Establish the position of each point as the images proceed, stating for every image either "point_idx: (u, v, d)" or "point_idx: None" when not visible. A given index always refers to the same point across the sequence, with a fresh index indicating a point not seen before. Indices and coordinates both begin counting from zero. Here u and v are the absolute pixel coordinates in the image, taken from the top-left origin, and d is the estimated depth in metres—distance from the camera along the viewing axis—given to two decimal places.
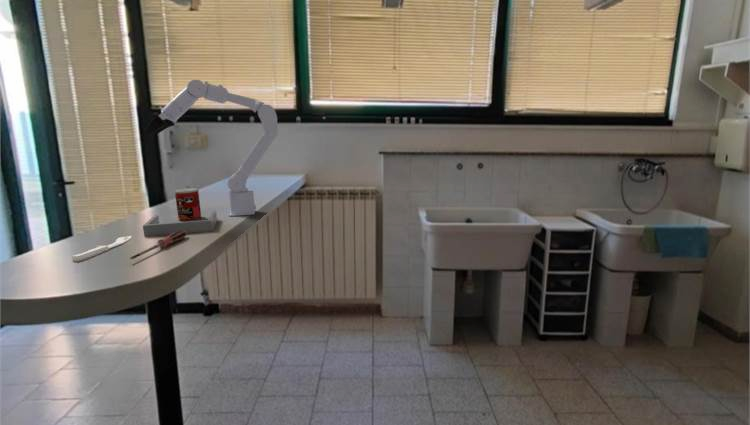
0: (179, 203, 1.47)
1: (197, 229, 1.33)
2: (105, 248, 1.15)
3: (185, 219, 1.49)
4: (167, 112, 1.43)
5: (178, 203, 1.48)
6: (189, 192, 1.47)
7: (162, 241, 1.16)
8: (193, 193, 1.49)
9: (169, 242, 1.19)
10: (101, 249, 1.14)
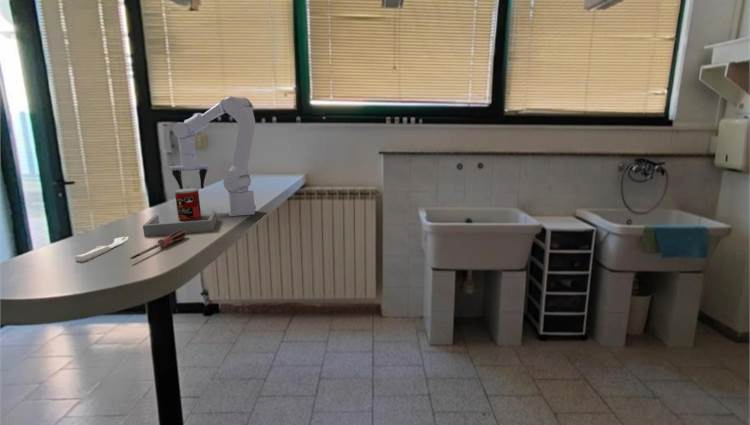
0: (179, 203, 1.47)
1: (197, 229, 1.33)
2: (106, 248, 1.15)
3: (185, 219, 1.49)
4: None
5: (178, 203, 1.48)
6: (189, 192, 1.47)
7: (162, 241, 1.16)
8: (193, 193, 1.49)
9: (169, 242, 1.19)
10: (103, 249, 1.14)
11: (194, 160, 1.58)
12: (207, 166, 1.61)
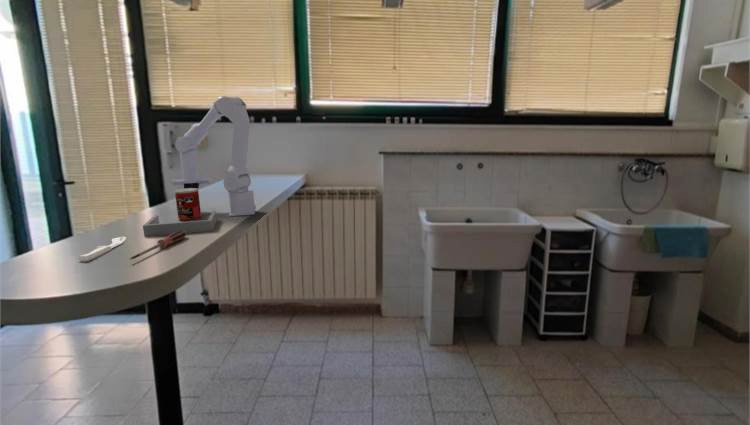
0: (179, 203, 1.47)
1: (197, 229, 1.33)
2: (108, 248, 1.15)
3: (185, 219, 1.49)
4: None
5: (178, 203, 1.48)
6: (189, 192, 1.47)
7: (162, 241, 1.16)
8: (193, 193, 1.49)
9: (169, 242, 1.19)
10: (105, 249, 1.14)
11: (196, 174, 1.60)
12: (208, 180, 1.62)
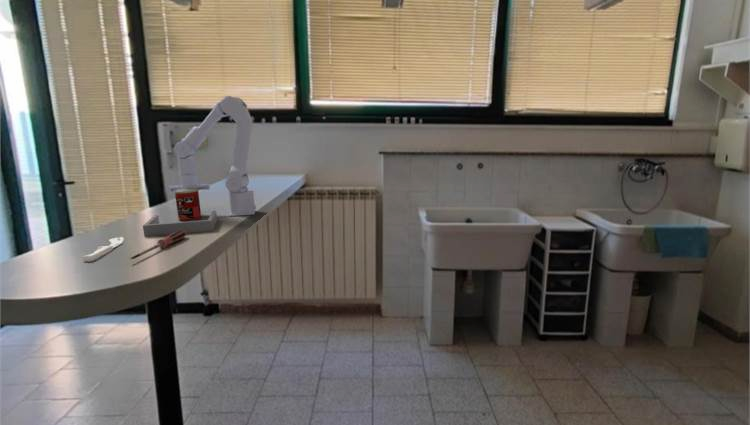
0: (179, 203, 1.47)
1: (197, 229, 1.33)
2: (110, 248, 1.15)
3: (185, 219, 1.49)
4: None
5: (178, 203, 1.48)
6: (189, 192, 1.47)
7: (162, 241, 1.16)
8: (193, 193, 1.48)
9: (169, 242, 1.19)
10: (107, 249, 1.14)
11: (194, 180, 1.55)
12: (207, 186, 1.57)
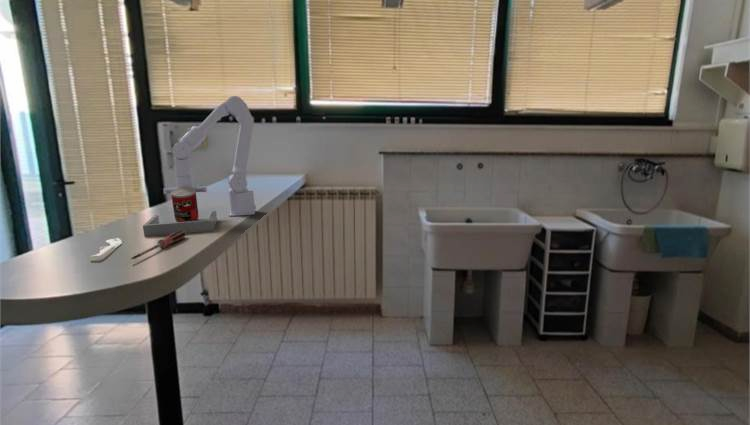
0: (176, 207, 1.42)
1: (197, 229, 1.33)
2: (113, 248, 1.15)
3: None
4: None
5: (175, 206, 1.42)
6: (187, 196, 1.41)
7: (162, 241, 1.16)
8: (191, 196, 1.42)
9: (169, 242, 1.19)
10: (111, 249, 1.14)
11: (190, 182, 1.48)
12: (204, 188, 1.50)
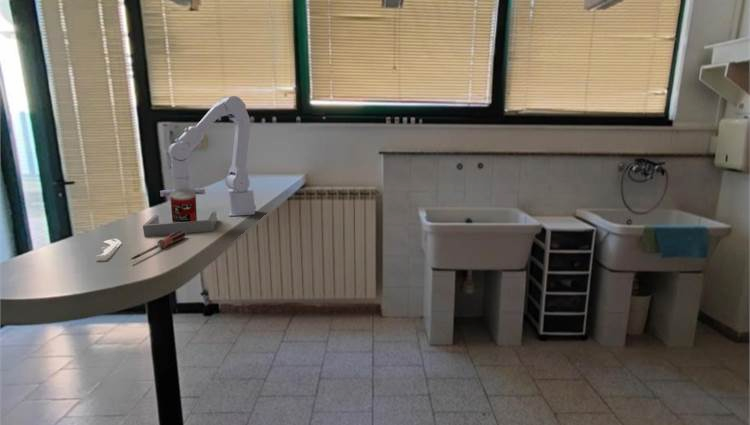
0: (176, 210, 1.37)
1: (197, 229, 1.33)
2: (115, 248, 1.15)
3: None
4: None
5: (174, 209, 1.37)
6: (187, 199, 1.36)
7: (162, 241, 1.16)
8: (191, 199, 1.38)
9: (169, 242, 1.19)
10: (114, 249, 1.14)
11: (188, 184, 1.43)
12: (203, 190, 1.46)
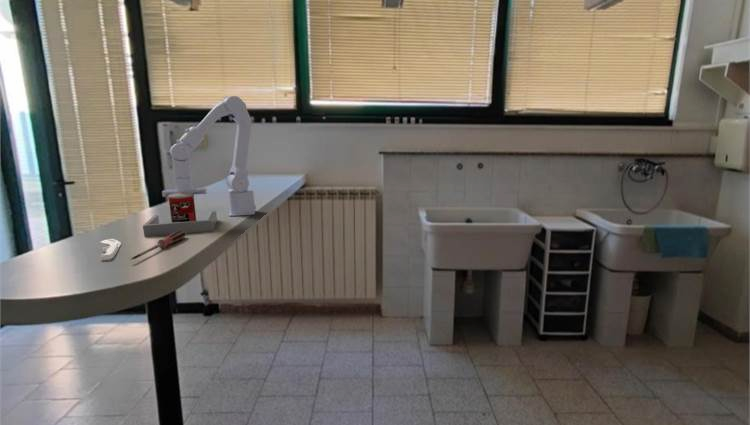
0: (174, 209, 1.38)
1: (197, 229, 1.33)
2: (117, 247, 1.16)
3: None
4: None
5: (173, 209, 1.38)
6: (185, 197, 1.38)
7: (162, 241, 1.16)
8: (189, 198, 1.39)
9: (169, 242, 1.19)
10: (116, 248, 1.14)
11: (190, 184, 1.45)
12: (204, 190, 1.47)
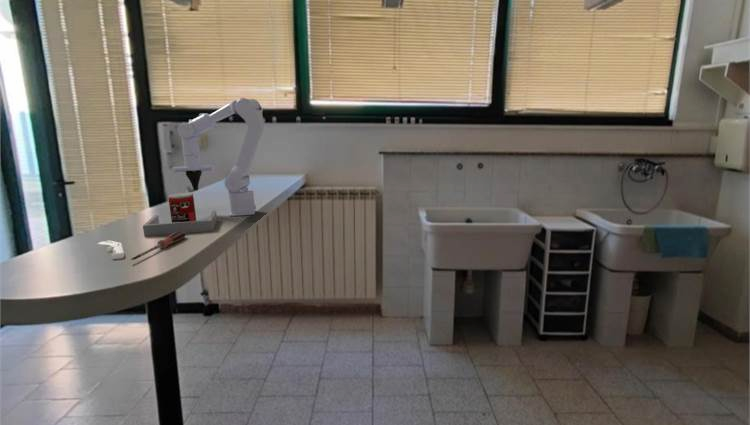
0: (174, 209, 1.38)
1: (197, 229, 1.33)
2: (122, 247, 1.16)
3: None
4: None
5: (173, 209, 1.38)
6: (185, 197, 1.38)
7: (162, 242, 1.16)
8: (189, 198, 1.39)
9: (169, 243, 1.18)
10: (122, 247, 1.15)
11: (198, 161, 1.55)
12: (211, 167, 1.57)
